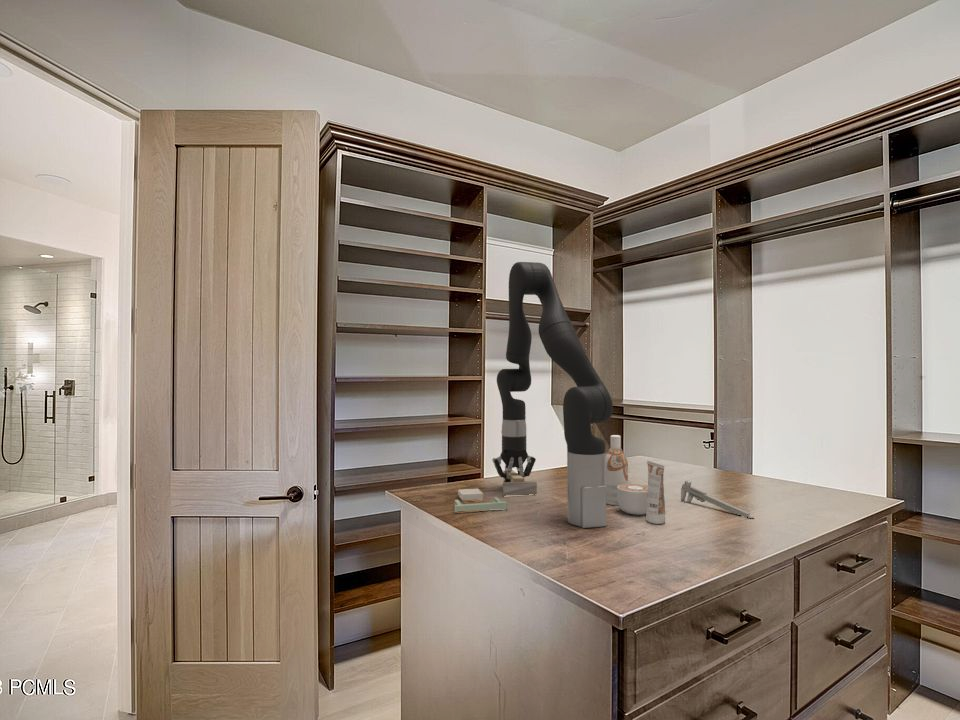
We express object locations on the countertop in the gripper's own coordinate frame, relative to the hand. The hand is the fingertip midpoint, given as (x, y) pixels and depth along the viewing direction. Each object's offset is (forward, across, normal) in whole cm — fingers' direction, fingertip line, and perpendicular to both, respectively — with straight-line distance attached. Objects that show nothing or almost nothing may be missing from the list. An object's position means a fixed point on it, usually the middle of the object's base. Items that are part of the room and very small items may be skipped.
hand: (514, 490), depth 159 cm
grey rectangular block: (0, 0, 0) cm, 0 cm away
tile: (+1, -15, -6) cm, 16 cm away
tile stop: (0, -15, -16) cm, 22 cm away
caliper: (+1, +46, -32) cm, 56 cm away
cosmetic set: (0, +24, -29) cm, 38 cm away
